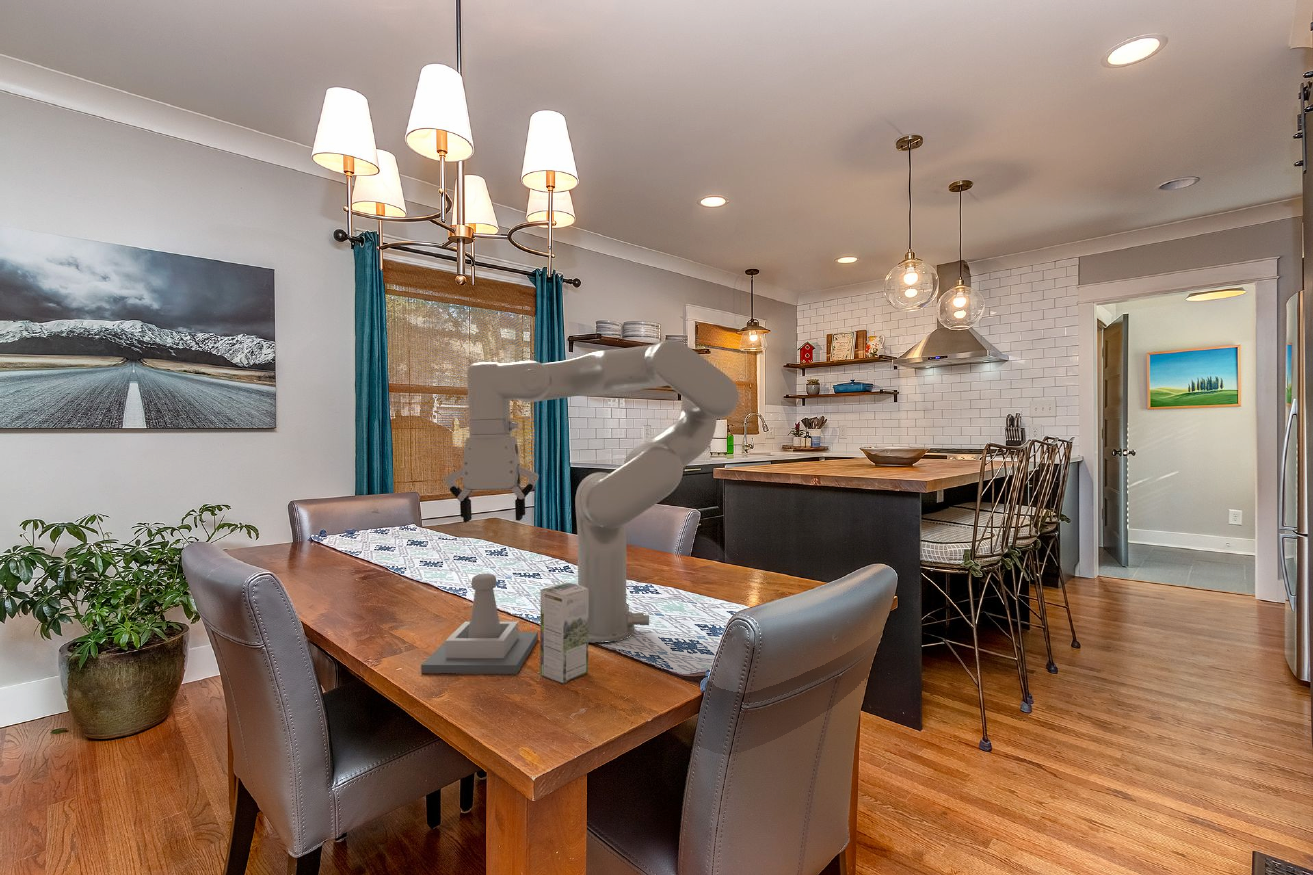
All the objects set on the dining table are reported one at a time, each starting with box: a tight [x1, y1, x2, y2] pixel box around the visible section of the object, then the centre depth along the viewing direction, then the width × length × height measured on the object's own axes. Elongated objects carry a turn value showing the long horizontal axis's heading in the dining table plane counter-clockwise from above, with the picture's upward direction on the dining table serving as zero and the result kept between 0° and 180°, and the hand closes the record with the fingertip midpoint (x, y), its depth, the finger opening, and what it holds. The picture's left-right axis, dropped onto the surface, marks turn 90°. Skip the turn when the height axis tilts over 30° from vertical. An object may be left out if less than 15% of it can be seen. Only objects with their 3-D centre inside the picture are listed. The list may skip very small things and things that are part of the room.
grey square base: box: [420, 620, 539, 675], centre depth 110 cm, size 16×16×4 cm
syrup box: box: [539, 582, 589, 684], centre depth 101 cm, size 6×6×14 cm
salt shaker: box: [468, 573, 501, 638], centre depth 110 cm, size 6×6×13 cm
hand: (493, 520), depth 115 cm, fingers open, 9 cm apart
